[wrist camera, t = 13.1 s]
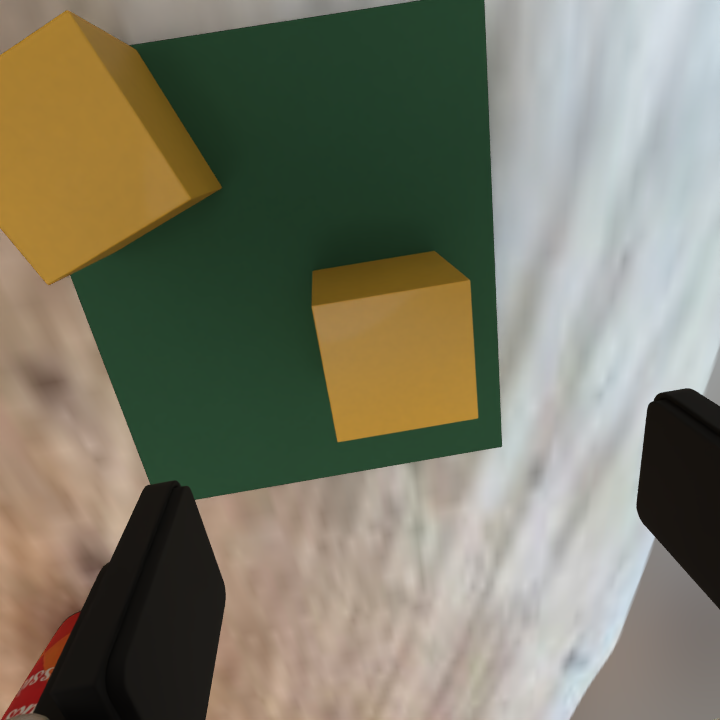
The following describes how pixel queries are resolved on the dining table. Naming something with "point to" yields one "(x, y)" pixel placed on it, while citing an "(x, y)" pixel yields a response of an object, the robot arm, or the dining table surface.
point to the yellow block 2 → (395, 344)
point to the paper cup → (40, 672)
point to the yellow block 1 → (88, 148)
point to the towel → (298, 238)
